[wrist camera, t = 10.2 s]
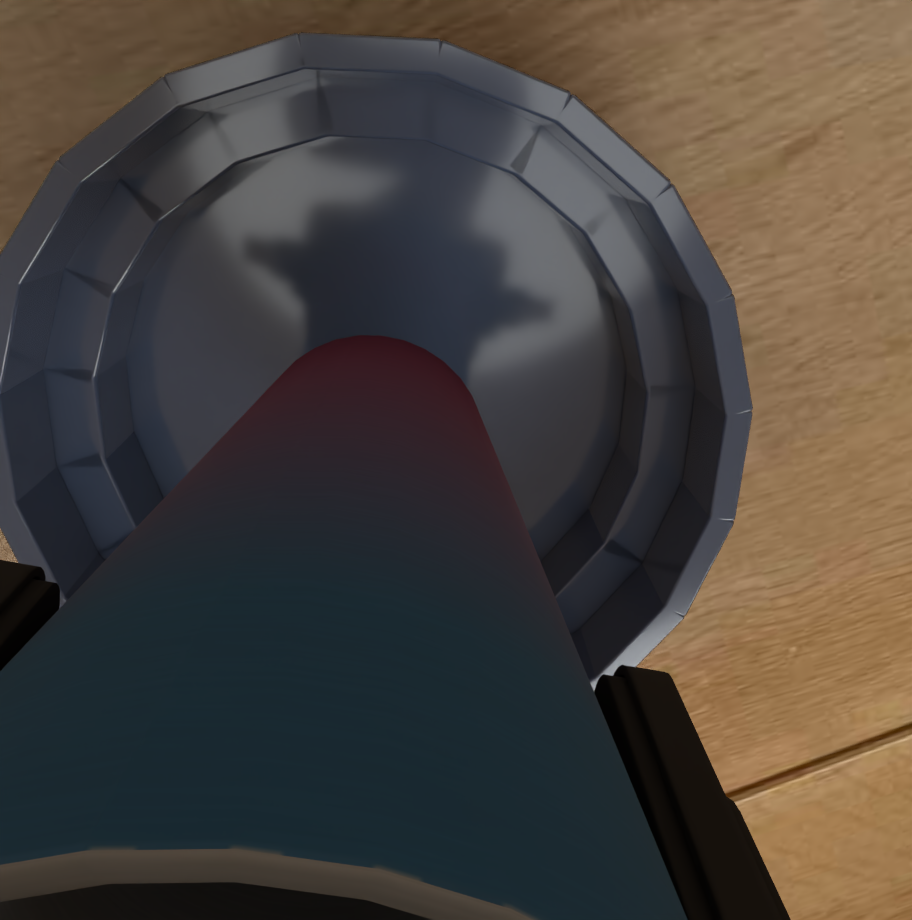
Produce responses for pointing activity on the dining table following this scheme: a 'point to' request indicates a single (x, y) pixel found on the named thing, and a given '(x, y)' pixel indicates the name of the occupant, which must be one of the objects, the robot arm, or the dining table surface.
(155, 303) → the bowl
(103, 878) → the cup
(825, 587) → the dining table surface
